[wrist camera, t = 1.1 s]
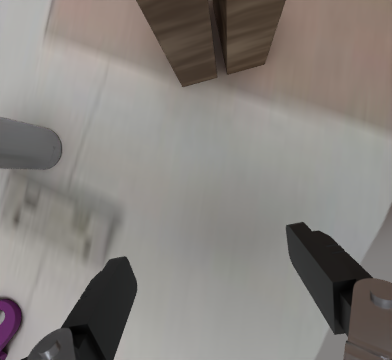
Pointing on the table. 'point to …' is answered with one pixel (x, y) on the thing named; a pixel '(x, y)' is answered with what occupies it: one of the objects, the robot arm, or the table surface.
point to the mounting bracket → (8, 323)
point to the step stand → (202, 34)
